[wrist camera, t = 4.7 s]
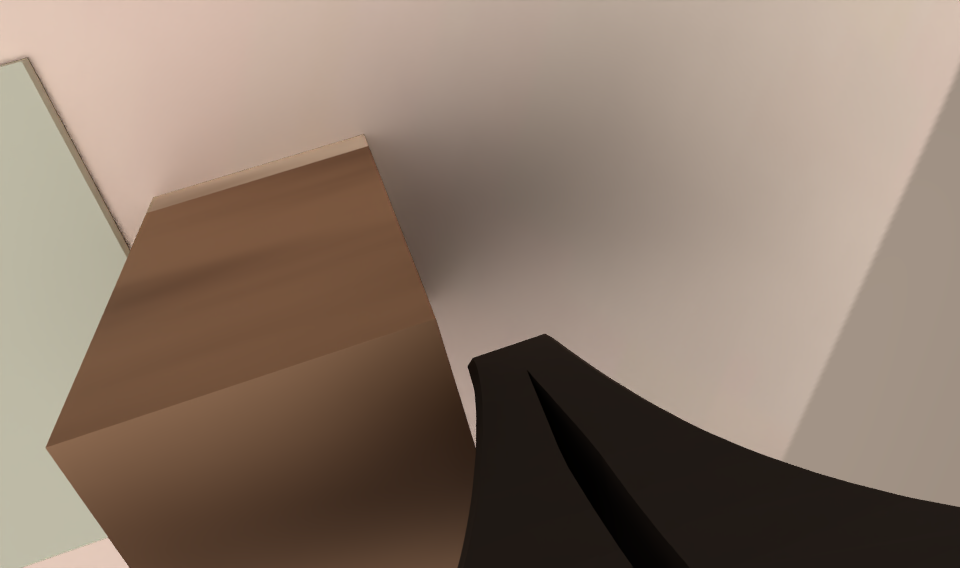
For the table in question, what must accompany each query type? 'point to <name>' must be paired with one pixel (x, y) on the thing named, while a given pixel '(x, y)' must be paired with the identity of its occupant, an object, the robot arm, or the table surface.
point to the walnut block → (272, 383)
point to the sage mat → (44, 313)
